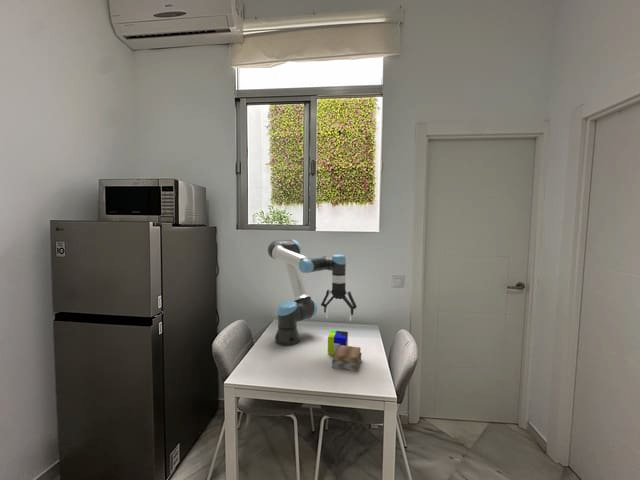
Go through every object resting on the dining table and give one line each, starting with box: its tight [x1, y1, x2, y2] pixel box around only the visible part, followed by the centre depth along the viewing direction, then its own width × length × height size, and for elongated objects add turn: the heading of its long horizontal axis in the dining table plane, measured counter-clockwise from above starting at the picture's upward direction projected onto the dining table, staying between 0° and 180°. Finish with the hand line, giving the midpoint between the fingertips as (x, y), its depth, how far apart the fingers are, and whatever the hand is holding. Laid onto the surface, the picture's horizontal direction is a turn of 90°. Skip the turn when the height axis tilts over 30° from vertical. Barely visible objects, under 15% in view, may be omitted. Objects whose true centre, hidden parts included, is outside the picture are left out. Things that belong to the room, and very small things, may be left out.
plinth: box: [331, 345, 362, 373], centre depth 160 cm, size 13×13×7 cm
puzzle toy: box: [327, 329, 349, 355], centre depth 175 cm, size 10×10×10 cm
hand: (338, 319), depth 174 cm, fingers open, 13 cm apart
